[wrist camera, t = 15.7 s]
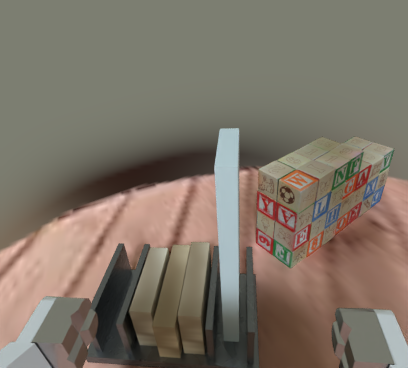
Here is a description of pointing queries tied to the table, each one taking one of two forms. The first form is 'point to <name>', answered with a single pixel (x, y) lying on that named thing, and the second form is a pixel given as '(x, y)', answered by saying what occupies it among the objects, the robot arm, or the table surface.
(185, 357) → the slot rack
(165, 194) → the table surface
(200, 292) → the offcut
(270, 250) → the stack of blocks
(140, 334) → the offcut
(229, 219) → the tall panel
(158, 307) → the offcut
